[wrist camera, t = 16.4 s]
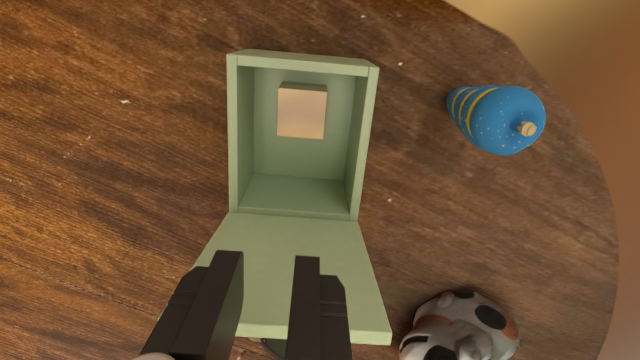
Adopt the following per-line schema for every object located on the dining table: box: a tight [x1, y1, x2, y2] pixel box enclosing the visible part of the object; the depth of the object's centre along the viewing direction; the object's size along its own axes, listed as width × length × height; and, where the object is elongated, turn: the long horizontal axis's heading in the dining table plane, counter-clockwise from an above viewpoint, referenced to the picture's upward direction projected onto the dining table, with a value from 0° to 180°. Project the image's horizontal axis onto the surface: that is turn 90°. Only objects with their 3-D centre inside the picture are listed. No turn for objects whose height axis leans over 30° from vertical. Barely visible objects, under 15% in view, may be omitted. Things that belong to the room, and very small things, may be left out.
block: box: [276, 81, 328, 139], centre depth 33 cm, size 4×4×4 cm
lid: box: [158, 213, 392, 345], centre depth 24 cm, size 14×12×1 cm
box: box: [226, 49, 380, 222], centre depth 33 cm, size 14×12×9 cm
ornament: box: [446, 85, 546, 156], centre depth 29 cm, size 5×5×15 cm
